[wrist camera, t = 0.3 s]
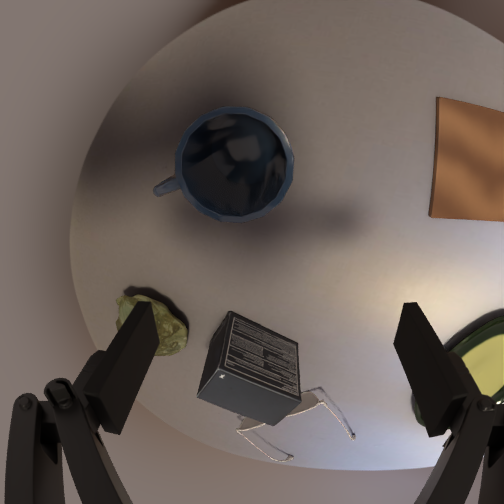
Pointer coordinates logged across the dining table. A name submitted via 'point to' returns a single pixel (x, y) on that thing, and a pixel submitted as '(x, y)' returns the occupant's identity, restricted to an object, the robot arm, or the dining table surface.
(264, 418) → the small box
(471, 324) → the dining table surface
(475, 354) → the plate
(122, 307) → the seashell
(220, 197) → the mug
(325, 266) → the dining table surface
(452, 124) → the cork mat
